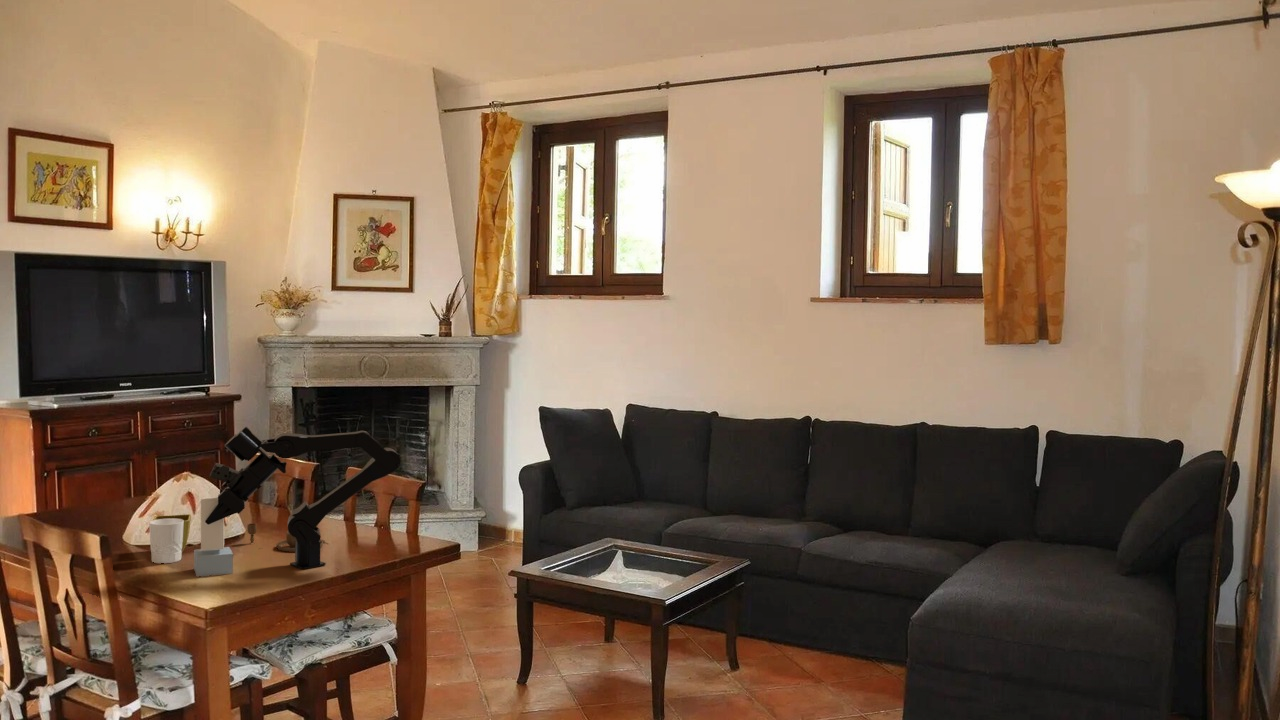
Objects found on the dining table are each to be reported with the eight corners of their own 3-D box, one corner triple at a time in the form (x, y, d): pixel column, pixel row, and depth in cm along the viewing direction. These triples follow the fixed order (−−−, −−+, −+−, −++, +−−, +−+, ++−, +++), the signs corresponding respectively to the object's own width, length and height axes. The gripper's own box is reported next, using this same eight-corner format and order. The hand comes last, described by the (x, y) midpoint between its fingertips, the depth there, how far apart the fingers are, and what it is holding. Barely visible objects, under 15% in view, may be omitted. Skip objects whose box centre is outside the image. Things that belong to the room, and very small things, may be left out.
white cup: (142, 563, 247) (142, 524, 246) (159, 556, 254) (159, 517, 254) (173, 564, 246) (173, 525, 246) (189, 557, 254) (189, 518, 254)
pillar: (224, 544, 244) (223, 496, 244) (223, 549, 239) (223, 499, 239) (201, 546, 242) (201, 497, 242) (200, 550, 238) (200, 501, 237)
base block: (229, 566, 247) (229, 546, 246) (232, 574, 240) (233, 553, 239) (194, 569, 243) (194, 549, 243) (196, 577, 236) (196, 556, 236)
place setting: (280, 558, 257) (280, 536, 257) (242, 545, 270) (242, 524, 270) (339, 548, 270) (340, 526, 270) (301, 536, 283) (301, 515, 283)
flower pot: (151, 557, 254) (151, 522, 253) (154, 549, 262) (154, 515, 261) (189, 554, 257) (189, 520, 256) (190, 547, 265) (191, 513, 265)
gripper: (232, 446, 250) (184, 492, 247) (229, 457, 232) (177, 506, 229) (265, 476, 253) (219, 521, 250) (264, 488, 236) (214, 537, 232)
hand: (207, 520), depth 240 cm, fingers closed on pillar, 5 cm apart
